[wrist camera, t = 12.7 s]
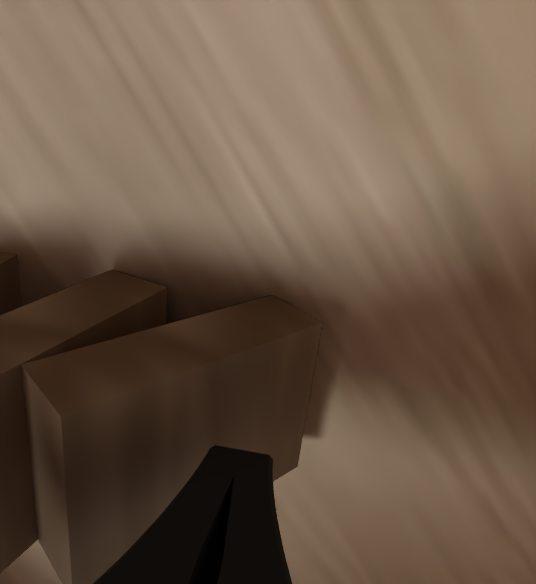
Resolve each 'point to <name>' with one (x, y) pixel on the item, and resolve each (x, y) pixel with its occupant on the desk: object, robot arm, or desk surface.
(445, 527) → the desk surface
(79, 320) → the domino
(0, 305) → the domino
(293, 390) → the domino
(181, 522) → the robot arm
